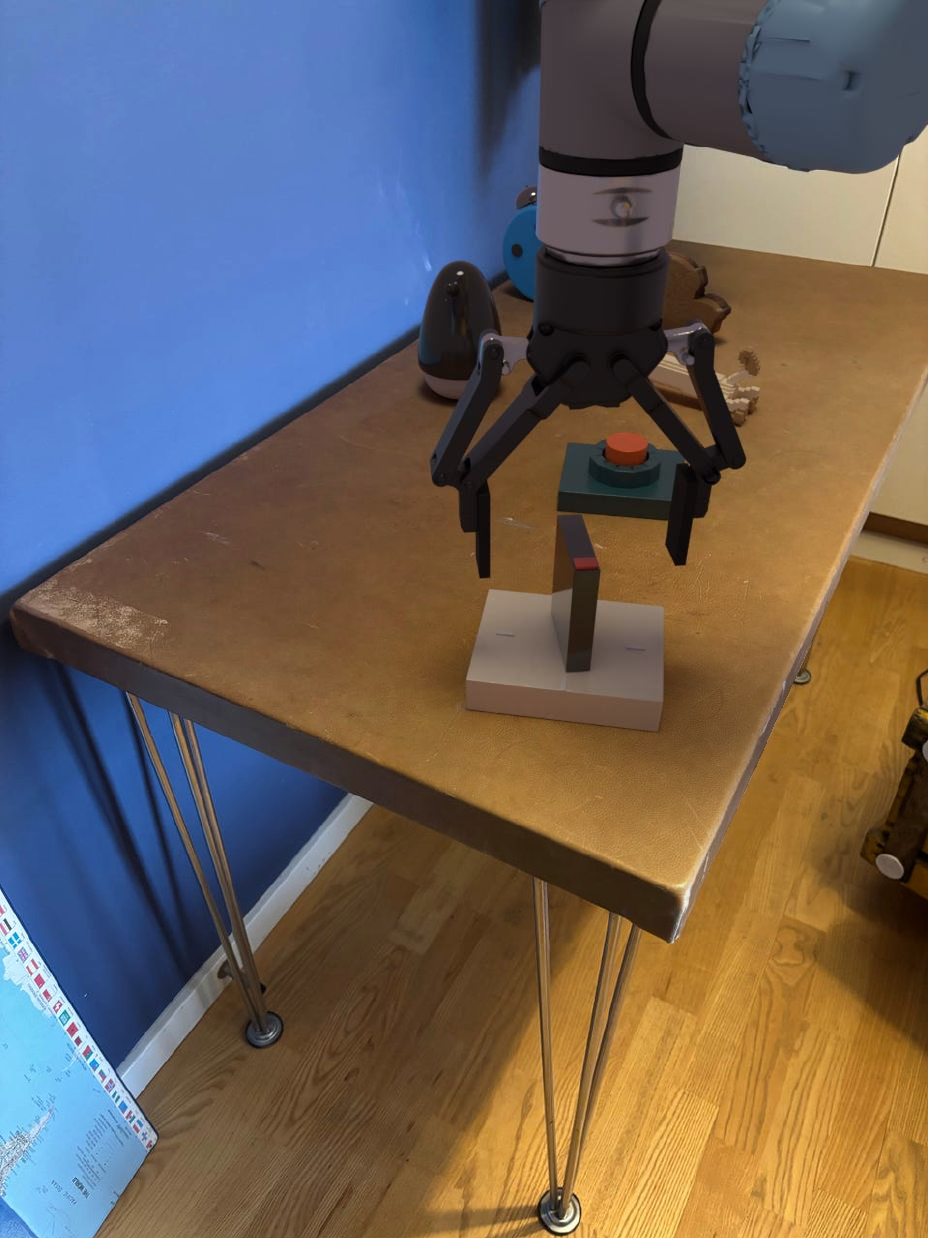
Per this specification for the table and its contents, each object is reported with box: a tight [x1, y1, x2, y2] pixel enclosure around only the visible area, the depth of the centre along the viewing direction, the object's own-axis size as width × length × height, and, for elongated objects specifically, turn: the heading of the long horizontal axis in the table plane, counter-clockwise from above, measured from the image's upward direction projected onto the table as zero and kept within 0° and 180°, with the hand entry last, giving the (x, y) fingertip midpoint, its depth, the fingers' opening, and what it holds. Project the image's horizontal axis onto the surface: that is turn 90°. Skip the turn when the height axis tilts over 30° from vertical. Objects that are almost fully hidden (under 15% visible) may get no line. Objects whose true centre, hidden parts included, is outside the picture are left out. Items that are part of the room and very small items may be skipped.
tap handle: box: [551, 513, 602, 672], centre depth 66 cm, size 7×2×9 cm, turn 5°
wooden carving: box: [663, 250, 732, 336], centre depth 121 cm, size 16×5×10 cm, turn 44°
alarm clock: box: [502, 184, 543, 302], centre depth 129 cm, size 13×6×15 cm, turn 53°
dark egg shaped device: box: [417, 259, 503, 401], centre depth 105 cm, size 10×10×15 cm
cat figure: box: [648, 347, 762, 426], centre depth 106 cm, size 10×9×25 cm
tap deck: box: [465, 588, 665, 733], centre depth 70 cm, size 14×11×3 cm
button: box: [605, 431, 649, 466], centre depth 89 cm, size 4×4×2 cm
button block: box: [556, 438, 686, 521], centre depth 90 cm, size 12×10×4 cm
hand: (579, 561), depth 64 cm, fingers open, 13 cm apart
